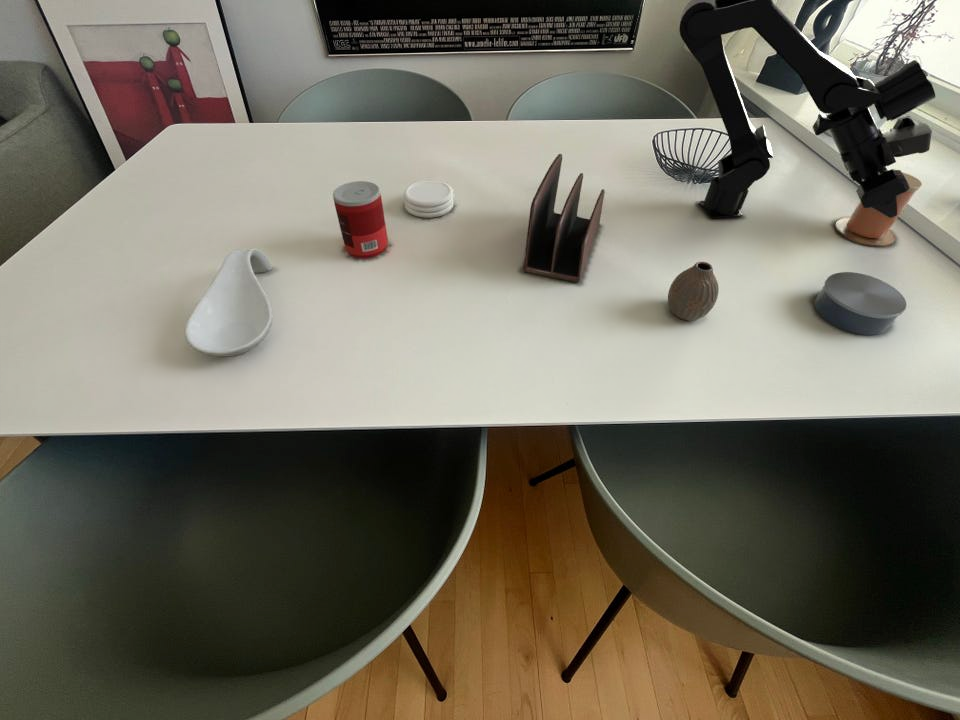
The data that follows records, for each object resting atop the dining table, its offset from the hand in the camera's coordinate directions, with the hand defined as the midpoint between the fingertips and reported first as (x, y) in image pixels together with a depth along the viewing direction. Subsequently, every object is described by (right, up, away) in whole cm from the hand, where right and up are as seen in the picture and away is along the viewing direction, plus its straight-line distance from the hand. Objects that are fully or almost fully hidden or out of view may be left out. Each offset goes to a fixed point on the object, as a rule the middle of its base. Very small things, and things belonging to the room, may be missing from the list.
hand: (889, 207), depth 88 cm
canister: (-1, -3, +4) cm, 5 cm away
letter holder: (-60, -8, 0) cm, 60 cm away
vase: (-43, -21, -12) cm, 49 cm away
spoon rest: (-112, -21, -13) cm, 115 cm away
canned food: (-96, -7, 0) cm, 96 cm away
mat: (-1, -3, +4) cm, 6 cm away
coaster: (-86, +3, +11) cm, 87 cm away
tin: (-17, -21, -12) cm, 29 cm away
